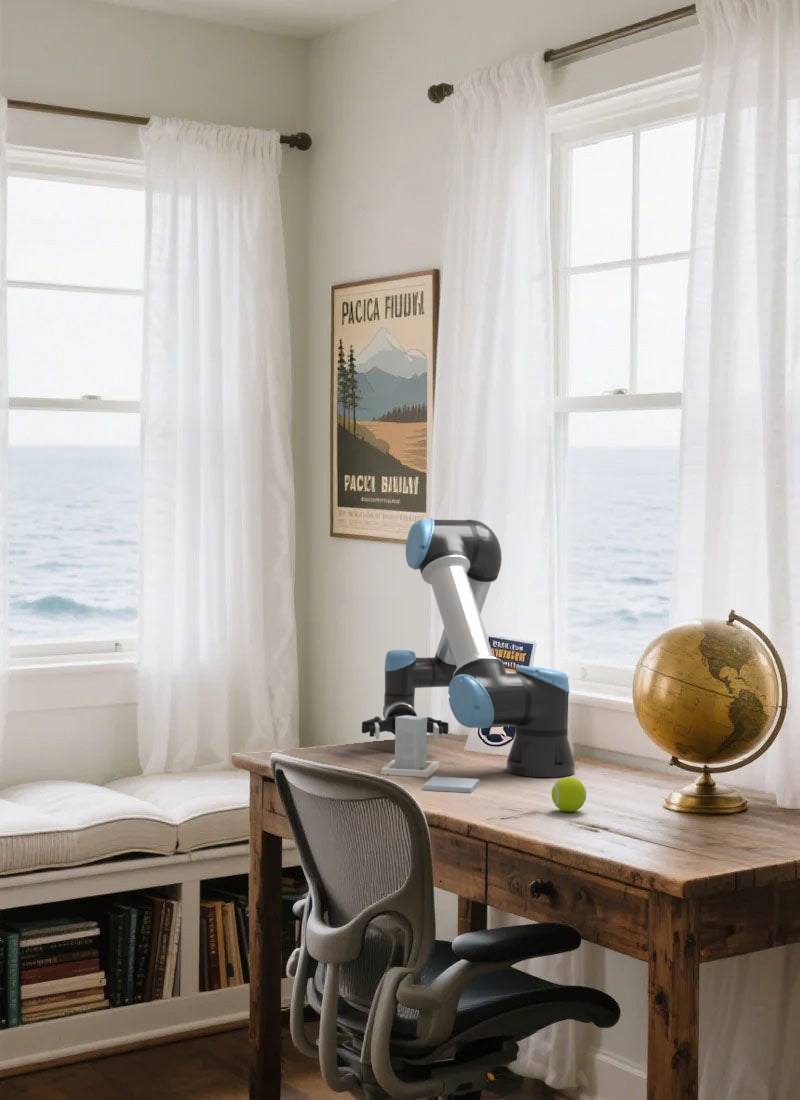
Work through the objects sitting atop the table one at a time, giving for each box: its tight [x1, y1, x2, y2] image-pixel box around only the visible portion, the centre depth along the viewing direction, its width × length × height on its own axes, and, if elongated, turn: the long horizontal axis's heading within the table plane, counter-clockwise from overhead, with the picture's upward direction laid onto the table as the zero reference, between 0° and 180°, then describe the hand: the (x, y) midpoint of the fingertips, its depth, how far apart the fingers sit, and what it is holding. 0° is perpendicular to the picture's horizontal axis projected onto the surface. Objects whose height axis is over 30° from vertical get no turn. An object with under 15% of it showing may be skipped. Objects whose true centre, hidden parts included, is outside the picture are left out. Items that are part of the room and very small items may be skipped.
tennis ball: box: [551, 776, 587, 813], centre depth 271 cm, size 7×7×7 cm
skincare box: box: [394, 715, 428, 770], centre depth 310 cm, size 6×4×12 cm
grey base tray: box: [380, 758, 440, 778], centre depth 310 cm, size 10×12×1 cm
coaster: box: [423, 775, 480, 794], centre depth 293 cm, size 10×10×1 cm
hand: (407, 733), depth 319 cm, fingers open, 13 cm apart
